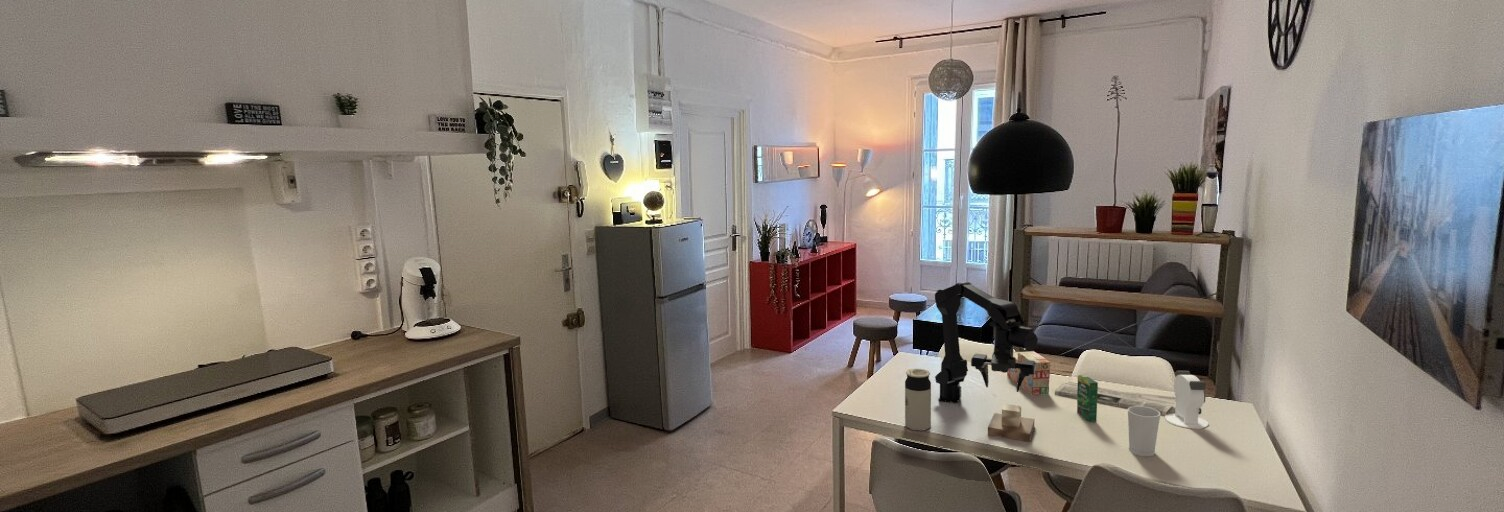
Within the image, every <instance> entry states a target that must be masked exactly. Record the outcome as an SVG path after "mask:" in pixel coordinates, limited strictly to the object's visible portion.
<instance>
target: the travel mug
mask: <svg viewBox="0 0 1504 512" xmlns="http://www.w3.org/2000/svg"><path fill="white" fill-rule="evenodd" d="M905 374H906V379H905V380H904V418H905V419H904V421H905V422H904V423H905V424H904V425H905V426H906V428H907V429H910V430H914V431H926V430H929V429H931V426H932V425H931V424H932V386H931V385H932V382H931V380H930V376H931V372H930V371H929V370H927V369H925V368H909V369H907V370H906V371H905Z"/></svg>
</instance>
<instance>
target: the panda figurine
mask: <svg viewBox="0 0 1504 512" xmlns="http://www.w3.org/2000/svg"><path fill="white" fill-rule="evenodd" d="M1174 375H1175V379H1174V385H1173V389H1174V392H1173V393H1174V397H1176V402H1175V407H1174V408H1175V409H1174V413H1168V414H1167V415H1166V416H1164V420H1165V422H1167V423H1168V424H1171V425H1173V426H1176V427H1180V428H1184V429H1191V428H1192V430H1200V429H1201V430H1202V429H1206V428H1207V427H1208V426H1209V422H1208V421H1207V420H1205V419H1204V418H1202V417H1199V415H1201V414H1202V407H1203V405H1204V403H1206V383H1205V381H1204V380H1200V379H1199V378H1198V377H1197V376H1196V375H1193V374H1191V372H1190V371H1189V370H1175V373H1174ZM1205 427H1206V428H1205Z"/></svg>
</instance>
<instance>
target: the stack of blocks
mask: <svg viewBox="0 0 1504 512" xmlns="http://www.w3.org/2000/svg"><path fill="white" fill-rule="evenodd" d="M1013 357H1015V359H1016V362H1020V363H1021V362H1022V360H1023V359H1024V360H1031V361H1035V362H1036V370H1035V373H1034V374H1032V375H1031V374H1030V375H1029V376H1025V378H1024V380H1023V381H1022V384H1021V386H1020V388H1022V389H1023V390H1025V391H1026V392H1027V393H1028V394H1030V395H1031V396H1041V394H1042V396H1043V394H1045V395H1049V393H1050V376H1051V375H1050V373H1051V362H1050V361H1049V360H1048V359H1046V358H1045V357H1044V356H1042V355H1040V354H1039V353H1037V352H1035V351H1034V350H1031V351H1016V352H1014V351H1013ZM1019 373H1020V369H1018V368H1014V369H1012V368H1011V369H1008V372H1006V376H1007V377H1008V378H1010V379H1011V380H1012V381H1013V382H1014V383H1016V384H1017V383H1018V379H1019Z"/></svg>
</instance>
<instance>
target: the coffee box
mask: <svg viewBox="0 0 1504 512" xmlns="http://www.w3.org/2000/svg"><path fill="white" fill-rule="evenodd" d="M1077 383H1078V392H1077V399H1076V401H1077V402H1076V403H1077V404H1076V405H1077V406H1076V413H1077V414H1078V415H1079V416H1080V417H1081V418H1083V419H1084V420H1085V421H1086V422H1088V423H1096V422H1097V419H1098V415H1097V414H1098V403H1097V391H1098V387H1099V386H1098V385H1099V383H1098V381H1096V380H1094V379H1092V378H1091V377H1089V376H1088V375H1087V374H1084V375H1083V374H1082V375H1081V374H1080V375H1077Z"/></svg>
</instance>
